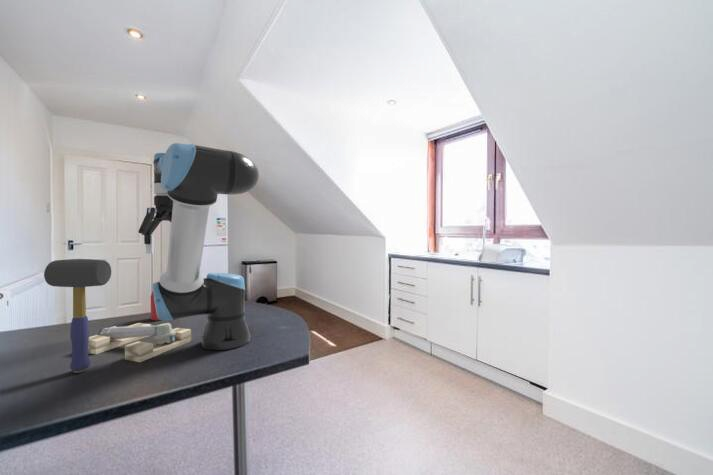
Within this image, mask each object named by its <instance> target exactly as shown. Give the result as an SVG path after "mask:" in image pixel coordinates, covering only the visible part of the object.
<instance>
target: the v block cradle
mask: <svg viewBox="0 0 713 475" xmlns="http://www.w3.org/2000/svg"><path fill="white" fill-rule="evenodd" d="M129 326H152V324H150V323H143V322H137V323H133V324H130V325H127V327H129ZM172 331H176V334H175V341H173V342H170V343H167V342H166V343H164V344H160V345H158V344H156V342H155V343H152V342H146V341H145V342H144V341H140V340H142V339H145V338H148V337H149V336H142V337H133V338H123V339H115V340H113V341H110V337H106V336H100V335H98V334H95V335H91V336H89V340H88V354H90V355H91V354H93V355H99V354H101V353H104V352H107V351H110V350H113V349H115V348H116V349H117V348H119V347H122V346H124V360H125V361H132V362H137V363H142V362H144V361H146V360H149V359H151V358H154V357H156V356H157V357H158V356H159V355H161V354H163V353H166V352H169V351H171V350H173V349H175V348H178V347H180V346H182V345H186V344H187V343H190V342H192V329H190V328H183V327H175V328H172Z"/></svg>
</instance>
